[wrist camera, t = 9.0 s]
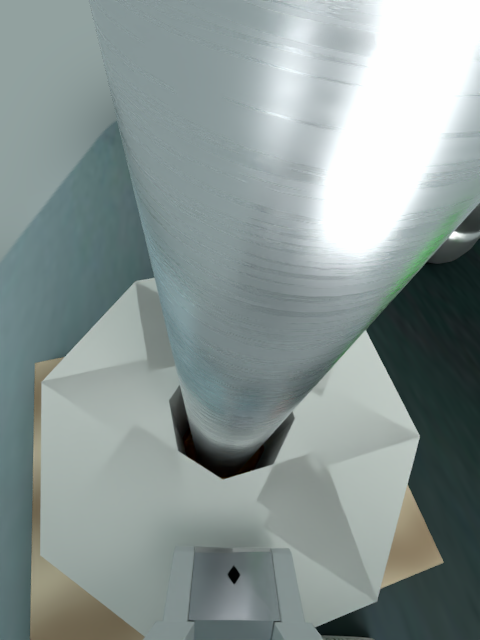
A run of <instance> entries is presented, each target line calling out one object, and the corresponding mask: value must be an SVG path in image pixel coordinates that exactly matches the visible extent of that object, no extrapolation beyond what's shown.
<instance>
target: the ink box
mask: <svg viewBox="0 0 480 640" xmlns="http://www.w3.org/2000/svg"><path fill="white" fill-rule="evenodd" d="M321 637H322V638H323V639H324V640H374V639H372V638H366V637H348V636H322V635H321Z"/></svg>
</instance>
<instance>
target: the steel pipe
mask: <svg viewBox="0 0 480 640" xmlns="http://www.w3.org/2000/svg"><path fill="white" fill-rule="evenodd" d="M89 3H90V7H91V11H92V15H93V20H94V24H95V28H96V32H97V36H98V40H99V45H100V49H101V53H102V57H103V62H104V66H105V70H106V75H107V79H108V83H109V87H110V91H111V96H112V100H113V104H114V108H115V113H116V117H117V121H118V125H119V130H120V134H121V138H122V142H123V146H124V151H125V155H126V159H127V163H128V168H129V172H130V176H131V180H132V185H133V189H134V193H135V197H136V201H137V206H138V210H139V214H140V218H141V223H142V227H143V231H144V235H145V240H146V244H147V248H148V252H149V256H150V261H151V265H152V269H153V273H154V278H155V282H156V286H157V290H158V295H159V299H160V303H161V307H162V311H163V316H164V320H165V324H166V328H167V333H168V337H169V341H170V345H171V350H172V354H173V358H174V362H175V366H176V371H177V375H178V379H179V383H180V388H181V392H182V396H183V400H184V405H185V409H186V413H187V417H188V421H189V426H190V430H191V433H190V435H189V436H188V438H187V440H186V441H185V447H186V452H187V457H188V458H190V459H191V460H193V461H195V462H196V463H198V464H199V465H201V466H202V467H204V468H206V469H207V470H209V471H210V472H212V473H213V474H215V475H216V476H218V477H220V478H221V479H226V478H230V477H233V476H236V475H240V474H243V473H246V472H250V471H252V469H253V467H254V465H255V463H256V461H257V459H258V457H259V455H260V450H259V448H260V447H261V446H262V445H263V444H264V442H265V441H266V440H267V439H268V438H269V437H270V436H271V435H272V434H273V432H274V431H275V430H276V429H277V428H278V427H279V426H280V425H281V424H282V422H283V421H284V420H285V419H286V418H287V417H288V416H289V415H290V414H291V412H292V411H293V410H294V409H295V408H296V407H297V406H298V405H299V404H300V402H301V401H302V400H303V399H304V398H305V397H306V396H307V395H308V393H309V392H310V391H311V390H312V389H313V388H314V387H315V386H316V385H317V383H318V382H319V381H320V380H321V379H322V378H323V377H324V376H325V375H326V373H327V372H328V371H329V370H330V369H331V368H332V367H333V366H334V365H335V363H336V362H337V361H338V360H339V359H340V358H341V357H342V356H343V355H344V353H345V352H346V351H347V350H348V349H349V348H350V347H351V346H352V345H353V343H354V342H355V341H356V340H357V339H358V338H359V337H360V336H361V334H362V333H363V332H364V331H365V330H366V329H367V328H368V327H369V326H370V324H371V323H372V322H373V321H374V320H375V319H376V318H377V317H378V316H379V314H380V313H381V312H382V311H383V310H384V309H385V308H386V307H387V306H388V304H389V303H390V302H391V301H392V300H393V299H394V298H395V297H396V296H397V294H398V293H399V292H400V291H401V290H402V289H403V288H404V287H405V285H406V284H407V283H408V282H409V281H410V280H411V279H412V278H413V277H414V275H415V274H416V273H417V272H418V271H419V270H420V269H421V268H422V267H423V265H424V264H425V263H426V262H427V261H428V260H429V259H430V258H431V257H432V255H433V254H434V253H435V252H436V251H437V250H438V249H439V248H440V247H441V245H442V244H443V243H444V242H445V241H446V240H447V239H448V238H449V237H450V235H451V234H452V233H453V232H454V231H455V230H456V229H457V228H458V226H459V225H460V224H461V223H462V222H463V221H464V220H465V219H466V218H467V216H468V215H469V214H470V213H471V212H472V211H473V210H474V209H475V208H476V206H477V205H478V204H479V203H480V0H89Z"/></svg>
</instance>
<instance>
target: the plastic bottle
mask: <svg viewBox="0 0 480 640" xmlns="http://www.w3.org/2000/svg"><path fill="white" fill-rule="evenodd" d="M479 238H480V203H479V204H478V205H477V206H476V208H475V209H474V210H473V211H472V212H471V213H470V214H469V215H468V216H467V218H466V219H465V220H464V221H463V222H462V223H461V224H460V225H459V226H458V228H457V229H456V230H455V231H454V232H453V233H452V234H451V235H450V237H449V238H448V239H447V240H446V241H445V242H444V243H443V244H442V245H441V247H440V248H439V249H438V250H437V251H436V252H435V253H434V254H433V255H432V257H431V258H430V259H429V260H428V261H427V262H429V263H434V264H440V263H446V262H451V261H454V260H456V259H457V258H459V257H460V256H462V255H463V254H465V253H466V252H467V251H469V250H470V249H471V248H472V247H473V245H474V244H475V243H476V242H477V240H478V239H479Z"/></svg>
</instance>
